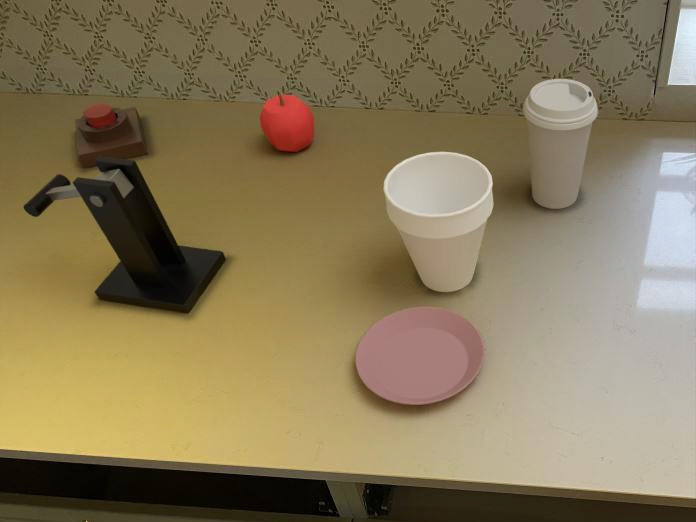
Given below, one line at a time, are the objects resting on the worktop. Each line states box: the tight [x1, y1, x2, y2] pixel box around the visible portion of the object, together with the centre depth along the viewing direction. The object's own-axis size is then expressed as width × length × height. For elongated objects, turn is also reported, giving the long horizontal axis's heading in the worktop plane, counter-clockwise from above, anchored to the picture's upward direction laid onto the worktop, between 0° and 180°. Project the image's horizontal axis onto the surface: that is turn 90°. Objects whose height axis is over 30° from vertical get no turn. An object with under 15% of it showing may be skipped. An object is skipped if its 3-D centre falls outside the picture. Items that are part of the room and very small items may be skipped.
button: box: [83, 103, 117, 127], centre depth 98 cm, size 4×4×2 cm
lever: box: [23, 169, 134, 218], centre depth 73 cm, size 12×6×2 cm, turn 78°
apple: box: [259, 94, 315, 153], centre depth 98 cm, size 8×8×8 cm
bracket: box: [72, 156, 227, 314], centre depth 76 cm, size 12×10×16 cm
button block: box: [74, 106, 149, 169], centre depth 100 cm, size 11×9×4 cm
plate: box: [355, 306, 486, 406], centre depth 73 cm, size 14×14×2 cm
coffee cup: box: [522, 78, 599, 210], centre depth 87 cm, size 10×10×15 cm
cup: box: [383, 151, 494, 293], centre depth 78 cm, size 12×12×14 cm
